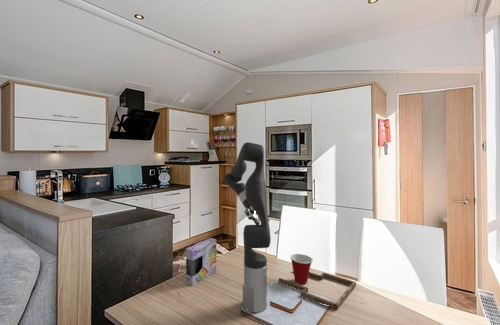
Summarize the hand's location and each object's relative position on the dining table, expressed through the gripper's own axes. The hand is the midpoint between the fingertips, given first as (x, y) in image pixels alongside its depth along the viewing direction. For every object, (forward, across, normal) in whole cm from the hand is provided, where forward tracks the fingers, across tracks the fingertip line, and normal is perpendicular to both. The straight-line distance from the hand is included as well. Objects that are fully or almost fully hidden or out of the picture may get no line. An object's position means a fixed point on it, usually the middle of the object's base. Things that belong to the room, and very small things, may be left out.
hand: (263, 223), depth 140 cm
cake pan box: (+6, -29, +30) cm, 42 cm away
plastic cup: (+34, 0, +1) cm, 34 cm away
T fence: (+39, 0, -4) cm, 39 cm away
